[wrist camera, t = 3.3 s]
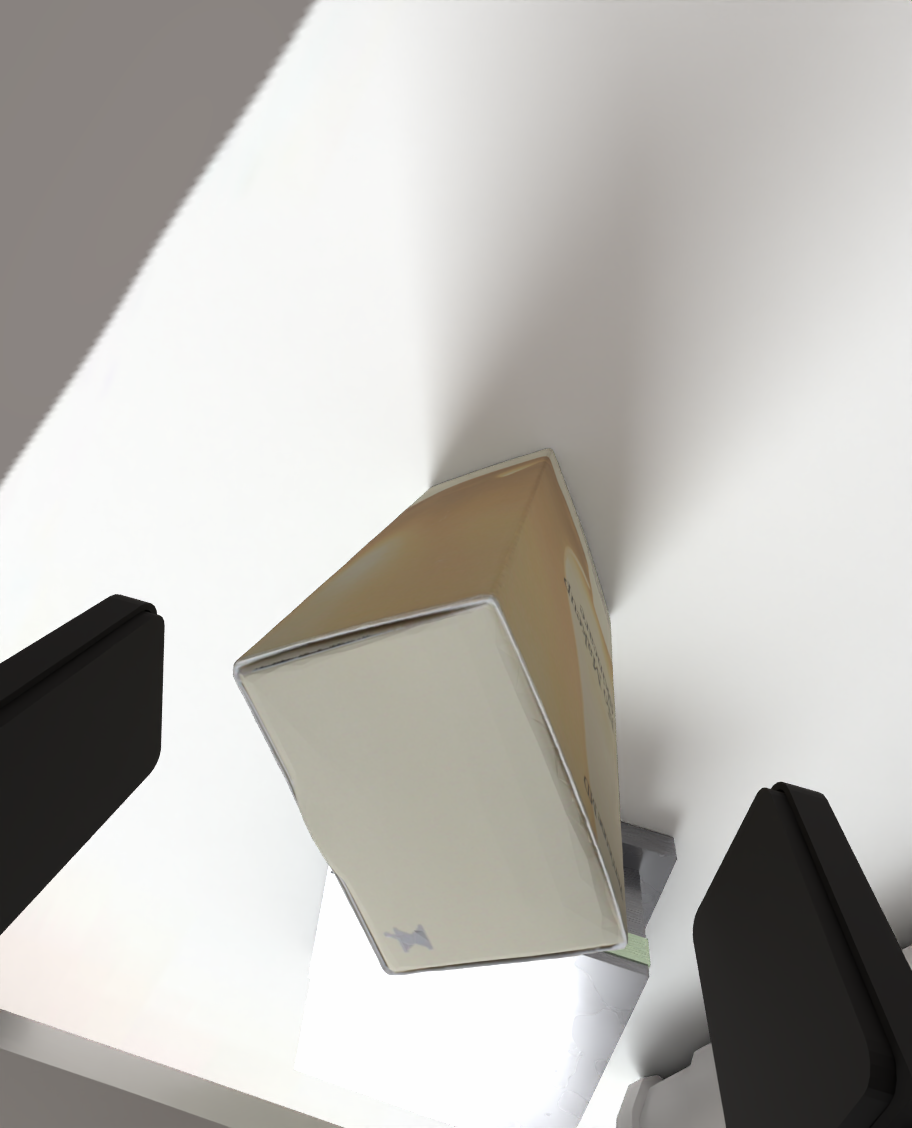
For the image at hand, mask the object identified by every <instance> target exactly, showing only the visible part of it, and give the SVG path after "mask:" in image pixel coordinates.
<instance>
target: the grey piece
mask: <svg viewBox="0 0 912 1128" xmlns="http://www.w3.org/2000/svg"><path fill="white" fill-rule="evenodd" d="M621 837H622V852H623V871H624V888H625V904H626V916H627V929H628V944H627V946H626V947H625V948H624V949H621V950H616V951H602V952H597V953H591V954H584V955H579V956H573V957H566V958H559V959H550V960H541V961H532V962H524V963H516V964H503V965H496V966H486V967H477V968H467V969H457V970H447V971H436V972H423V973H416V974H410V975H404V976H390V975H388V974H386V973H385V972H384V971H383V969H382V968H381V966H380V964H379V962H378V959H377V957H376V955H375V953H374V951H373V949H372V947H371V946H370V944H369V942H368V939H367V937H366V935H365V933H364V931H363V929H362V927H361V925H360V924H359V922H358V920H357V918H356V916H355V914H354V912H353V910H352V908H351V906H350V904H349V902H348V901H347V899H346V897H345V895H344V893H343V891H342V889H341V887H340V885H339V883H338V881H337V879H336V877H335V875H334V873H333V871H332V870H331V868H330V867H328V873H327V878H326V884H325V889H324V895H323V900H322V906H321V911H320V917H319V922H318V928H317V933H316V939H315V944H314V950H313V955H312V961H311V966H310V972H309V977H308V978H311V981H310V987H309V992H308V998H307V1003H306V1008H305V1014H304V1019H303V1025H302V1030H301V1036H300V1041H299V1047H298V1052H297V1057H296V1063H295V1068H294V1069H295V1070H298V1071H301V1072H304V1073H306V1074H309V1075H312V1076H315V1077H318V1078H320V1079H323V1080H326V1081H329V1082H332V1083H334V1084H337V1085H340V1086H343V1087H345V1088H348V1089H351V1090H354V1091H357V1092H359V1093H362V1094H365V1095H368V1096H371V1097H373V1098H376V1099H379V1100H382V1101H385V1102H387V1103H390V1104H393V1105H396V1106H399V1107H401V1108H404V1109H407V1110H410V1111H413V1112H415V1113H418V1114H421V1115H424V1116H427V1117H429V1118H432V1119H435V1120H438V1121H441V1122H443V1123H446V1124H449V1125H452V1126H454V1127H457V1128H577V1126H578V1124H579V1122H580V1120H581V1118H582V1116H583V1114H584V1112H585V1109H586V1107H587V1105H588V1103H589V1101H590V1099H591V1097H592V1095H593V1093H594V1091H595V1089H596V1087H597V1084H598V1082H599V1080H600V1078H601V1076H602V1074H603V1072H604V1070H605V1068H606V1066H607V1064H608V1062H609V1059H610V1057H611V1055H612V1053H613V1051H614V1049H615V1047H616V1045H617V1043H618V1041H619V1039H620V1037H621V1035H622V1032H623V1030H624V1028H625V1026H626V1024H627V1022H628V1020H629V1018H630V1016H631V1014H632V1012H633V1010H634V1007H635V1005H636V1003H637V1001H638V999H639V997H640V995H641V993H642V991H643V989H644V987H645V985H646V982H647V980H648V978H649V967H650V955H649V945H648V939H647V938H646V936H645V928H646V926H647V923H648V921H649V919H650V917H651V915H652V912H653V910H654V908H655V906H656V904H657V902H658V899H659V897H660V895H661V893H662V891H663V888H664V886H665V884H666V882H667V880H668V877H669V875H670V873H671V871H672V869H673V867H674V864H675V862H676V860H677V856H676V850H675V844H674V838H673V837H669V836H666V835H663V834H659V833H656V832H653V831H649V830H646V829H643V828H640V827H636V826H633V825H630V824H626V823H623V822H621Z"/></svg>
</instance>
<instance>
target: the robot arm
mask: <svg viewBox="0 0 912 1128" xmlns="http://www.w3.org/2000/svg"><path fill="white" fill-rule="evenodd" d="M163 660H164V620H163V617H161V616H160V615H157V611H156V608H155V606H154V605H152V604H151V603H148V602H144V601H141V600H137V599H134V598H130V597H127V596H123V595H118V594H115V595H112V596H110V597H108V598H106V599H105V600H103V601H101V602H100V603H98V604H97V605H95V606H93V607H92V608H90V609H88V610H87V611H85V612H84V613H82V614H80V615H79V616H77V617H75V618H74V619H72V620H70V621H69V622H67V623H66V624H64V625H62V626H61V627H59V628H57V629H56V630H54V631H53V632H51V633H49V634H48V635H46V636H44V637H43V638H41V639H39V640H38V641H36V642H35V643H33V644H31V645H30V646H28V647H26V648H25V649H23V650H21V651H20V652H18V653H17V654H15V655H13V656H12V657H10V658H8V659H7V660H5V661H4V662H2V663H0V935H1V934H2V933H3V932H4V931H5V930H6V929H7V927H8V926H9V925H10V924H11V923H12V922H13V921H14V920H15V919H16V918H17V917H18V916H19V915H20V913H21V912H22V911H23V910H24V909H25V908H26V907H27V906H28V905H29V904H30V903H31V902H32V900H33V899H34V898H35V897H36V896H37V895H38V894H39V893H40V892H41V891H42V890H43V889H44V888H45V886H46V885H47V884H48V883H49V882H50V881H51V880H52V879H53V878H54V877H55V876H56V875H57V873H58V872H59V871H60V870H61V869H62V868H63V867H64V866H65V865H66V864H67V863H68V862H69V861H70V859H71V858H72V857H73V856H74V855H75V854H76V853H77V852H78V851H79V850H80V849H81V848H82V847H83V845H84V844H85V843H86V842H87V841H88V840H89V839H90V838H91V837H92V836H93V835H94V834H95V832H96V831H97V830H98V829H99V828H100V827H101V826H102V825H103V824H104V823H105V822H106V821H107V820H108V818H109V817H110V816H111V815H112V814H113V813H114V812H115V811H116V810H117V809H118V808H119V807H120V805H121V804H122V803H123V802H124V801H125V800H126V799H127V798H128V797H129V796H130V795H131V794H132V793H133V791H134V790H135V789H136V788H137V787H138V786H139V785H140V784H141V783H142V782H143V781H144V780H145V779H146V777H147V776H148V775H149V774H150V773H151V772H152V770H153V769H154V767H155V765H156V764H157V761H158V759H159V756H160V751H161V729H162V694H163ZM693 942H694V947H695V953H696V959H697V964H698V970H699V976H700V982H701V987H702V993H703V999H704V1004H705V1010H706V1016H707V1022H708V1027H709V1033H710V1039H711V1044H712V1050H713V1056H714V1062H715V1067H716V1073H717V1079H718V1084H719V1090H720V1096H721V1102H722V1107H723V1113H724V1119H725V1125H726V1128H912V970H911V968H910V966H909V964H908V962H907V960H906V958H905V956H904V954H903V952H902V950H901V948H900V946H899V944H898V942H897V940H896V938H895V935H894V933H893V931H892V929H891V927H890V925H889V923H888V921H887V919H886V917H885V915H884V913H883V911H882V909H881V907H880V905H879V903H878V901H877V899H876V897H875V895H874V893H873V891H872V889H871V887H870V885H869V883H868V881H867V879H866V877H865V875H864V873H863V871H862V869H861V867H860V865H859V863H858V861H857V859H856V857H855V855H854V853H853V851H852V849H851V847H850V845H849V843H848V841H847V839H846V837H845V835H844V833H843V831H842V829H841V827H840V825H839V823H838V821H837V819H836V817H835V815H834V813H833V811H832V809H831V807H830V804H829V802H828V800H827V799H826V798H825V796H824V795H823V794H821V793H819V792H816V791H813V790H809V789H806V788H802V787H798V786H795V785H791V784H788V783H784V782H777V783H776V784H775V785H773V787H772V788H771V789H768V788H762V789H761V790H759V792H758V793H757V795H756V797H755V799H754V800H753V802H752V804H751V806H750V808H749V810H748V812H747V814H746V816H745V818H744V820H743V822H742V824H741V826H740V828H739V830H738V832H737V834H736V836H735V838H734V840H733V842H732V844H731V846H730V848H729V850H728V851H727V853H726V855H725V857H724V859H723V861H722V863H721V865H720V867H719V869H718V871H717V873H716V875H715V877H714V879H713V881H712V883H711V885H710V887H709V889H708V891H707V893H706V895H705V897H704V899H703V901H702V902H701V904H700V906H699V908H698V910H697V913H696V915H695V919H694V924H693ZM0 1128H344V1127H341V1126H338V1125H335V1124H332V1123H329V1122H326V1121H324V1120H321V1119H318V1118H315V1117H312V1116H309V1115H306V1114H304V1113H301V1112H298V1111H295V1110H292V1109H289V1108H286V1107H283V1106H281V1105H278V1104H275V1103H272V1102H269V1101H266V1100H263V1099H260V1098H258V1097H255V1096H252V1095H249V1094H246V1093H243V1092H240V1091H237V1090H235V1089H232V1088H229V1087H226V1086H223V1085H220V1084H217V1083H214V1082H212V1081H209V1080H206V1079H203V1078H200V1077H197V1076H194V1075H191V1074H189V1073H186V1072H183V1071H180V1070H177V1069H174V1068H171V1067H168V1066H166V1065H163V1064H160V1063H157V1062H154V1061H151V1060H148V1059H145V1058H142V1057H139V1056H136V1055H133V1054H131V1053H128V1052H125V1051H122V1050H119V1049H116V1048H113V1047H110V1046H107V1045H104V1044H101V1043H98V1042H95V1041H93V1040H90V1039H87V1038H84V1037H81V1036H78V1035H75V1034H72V1033H69V1032H66V1031H63V1030H60V1029H57V1028H55V1027H52V1026H49V1025H46V1024H43V1023H40V1022H37V1021H34V1020H31V1019H28V1018H25V1017H22V1016H19V1015H17V1014H14V1013H11V1012H8V1011H5V1010H2V1009H0Z"/></svg>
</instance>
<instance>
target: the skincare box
mask: <svg viewBox="0 0 912 1128" xmlns="http://www.w3.org/2000/svg"><path fill="white" fill-rule="evenodd" d="M233 677H234V679H235V681H236V683H237V685H238V687H239V689H240V691H241V693H242V695H243V696H244V698H245V700H246V702H247V704H248V706H249V708H250V710H251V712H252V714H253V716H254V718H255V720H256V722H257V724H258V726H259V728H260V730H261V732H262V734H263V736H264V738H265V740H266V742H267V744H268V745H269V747H270V750H271V752H272V754H273V756H274V758H275V760H276V762H277V764H278V766H279V768H280V769H281V771H282V773H283V775H284V777H285V779H286V781H287V783H288V785H289V788H290V790H291V792H292V794H293V796H294V799H295V801H296V803H297V805H298V807H299V810H300V812H301V815H302V817H303V820H304V822H305V824H306V826H307V828H308V830H309V833H310V835H311V837H312V839H313V840H314V842H315V844H316V845H317V847H318V849H319V850H320V852H321V854H322V856H323V857H324V859H325V860H326V862H327V863H328V865H329V867H330V868H331V870H332V871H333V873H334V875H335V877H336V879H337V881H338V883H339V885H340V887H341V889H342V891H343V893H344V895H345V897H346V899H347V901H348V902H349V904H350V906H351V908H352V910H353V912H354V914H355V916H356V918H357V920H358V922H359V924H360V925H361V927H362V929H363V931H364V933H365V935H366V937H367V939H368V942H369V944H370V946H371V947H372V949H373V951H374V953H375V955H376V957H377V959H378V962H379V964H380V966H381V968H382V969H383V971H384V972H385V973H386V974H388V975H390V976H404V975H410V974H416V973H423V972H436V971H447V970H457V969H467V968H477V967H486V966H496V965H503V964H516V963H524V962H532V961H541V960H550V959H559V958H566V957H573V956H579V955H584V954H591V953H597V952H602V951H616V950H621V949H624V948H625V947H626V946H627V944H628V929H627V916H626V904H625V888H624V871H623V852H622V837H621V822H620V801H619V781H618V762H617V744H616V721H615V703H614V688H613V665H612V643H611V622H610V617H609V613H608V610H607V606H606V603H605V599H604V596H603V592H602V589H601V585H600V582H599V579H598V575H597V572H596V569H595V566H594V563H593V560H592V556H591V553H590V550H589V547H588V544H587V541H586V538H585V535H584V532H583V529H582V526H581V524H580V521H579V518H578V516H577V513H576V510H575V508H574V505H573V502H572V500H571V497H570V494H569V491H568V489H567V486H566V484H565V481H564V478H563V475H562V473H561V470H560V467H559V465H558V462H557V459H556V457H555V454H554V452H553V450H552V449H550V448H548V449H544V450H540V451H537V452H534V453H531V454H527V455H524V456H521V457H518V458H514V459H511V460H508V461H506V462H502V463H499V464H496V465H493V466H490V467H487V468H484V469H481V470H478V471H475V472H472V473H469V474H466V475H463V476H461V477H458V478H455V479H452V480H449V481H446V482H444V483H441V484H438V485H436V486H433V487H431V488H430V489H428V490H427V491H426V492H425V493H424V494H423V495H422V496H421V497H420V498H418V499H417V500H416V501H415V502H414V503H413V504H412V505H411V506H409V507H408V508H407V509H406V510H405V511H404V512H403V513H402V514H400V515H399V516H398V517H397V518H396V519H395V520H394V521H393V522H392V523H391V524H390V525H388V526H387V527H386V528H385V529H384V530H383V531H382V532H381V533H379V534H378V535H377V536H376V537H375V538H374V539H372V540H371V541H370V542H369V543H368V544H367V545H366V546H365V547H363V548H362V549H361V550H360V551H359V552H358V553H357V554H356V555H355V556H354V557H352V558H351V559H350V560H349V561H348V562H347V563H346V564H345V565H344V566H343V567H342V568H341V569H339V570H338V571H337V572H336V573H335V574H334V575H332V576H331V577H330V578H329V579H328V580H327V581H326V582H324V583H323V584H322V585H321V586H320V587H319V588H318V589H317V590H315V591H314V592H313V593H312V594H311V595H310V596H309V597H308V598H306V599H305V600H304V601H303V602H302V603H301V604H300V605H299V606H298V607H297V608H295V609H294V610H293V611H292V612H291V613H290V614H289V615H288V616H287V617H285V618H284V619H283V620H282V621H281V622H279V623H278V624H277V625H276V626H275V627H274V628H273V629H272V630H271V631H270V632H269V633H267V634H266V635H265V636H264V637H263V638H262V639H261V640H260V641H258V642H257V643H256V644H255V645H254V646H253V647H252V648H251V649H249V650H248V651H247V652H246V653H245V654H243V655H242V656H241V657H240V658H239V659H238V660H237V661H236V662H235V663H234V667H233Z"/></svg>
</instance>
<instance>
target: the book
mask: <svg viewBox="0 0 912 1128" xmlns="http://www.w3.org/2000/svg"><path fill="white" fill-rule="evenodd" d="M902 952H903V954H904V956H905V958H906V960H907V962H908V964H909V966H910V968H911V970H912V945H910V946H908V947H907V948H905V949H903V950H902ZM616 1128H726V1125H725V1119H724V1113H723V1107H722V1102H721V1096H720V1090H719V1084H718V1079H717V1073H716V1067H715V1062H714V1056H713V1050H712V1044H711V1043H709V1044H707V1045H706V1046H704V1047H702V1048H700V1049H698V1050H697V1051H695V1052H694V1054H693V1058H692V1062H691V1065H690V1066H688V1067H687V1068H685V1069H683V1070H681V1071H679V1072H677V1073H676V1074H674V1075H672V1076H670V1077H668V1078H666V1079H665V1080H664V1079H662V1078H661V1077H660V1076H658V1075H654V1076H648V1077H643V1078H641V1079H640V1080H638V1081H636V1082H634V1083H632V1084H631V1085H629V1086H628V1089H627V1091H626V1094H625V1097H624V1100H623V1102H622V1105H621V1108H620V1111H619V1113H618V1116H617V1122H616Z"/></svg>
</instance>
